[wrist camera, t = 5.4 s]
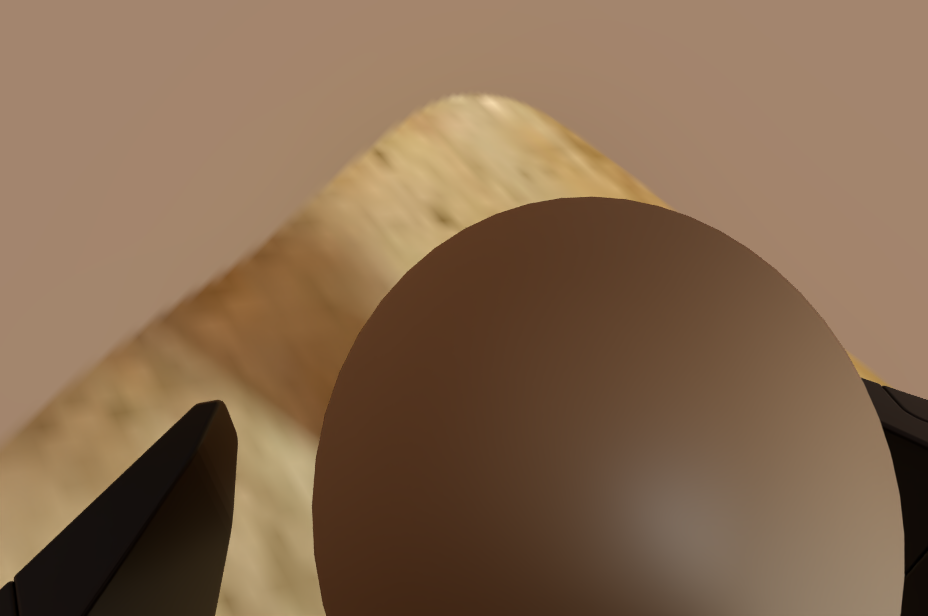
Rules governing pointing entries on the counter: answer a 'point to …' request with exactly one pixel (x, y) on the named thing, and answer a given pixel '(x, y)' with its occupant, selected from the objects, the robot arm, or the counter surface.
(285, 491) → the counter surface
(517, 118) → the counter surface
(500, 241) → the walnut peg
